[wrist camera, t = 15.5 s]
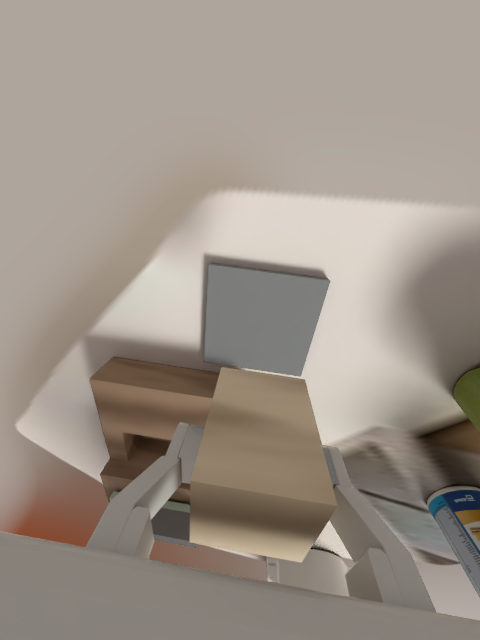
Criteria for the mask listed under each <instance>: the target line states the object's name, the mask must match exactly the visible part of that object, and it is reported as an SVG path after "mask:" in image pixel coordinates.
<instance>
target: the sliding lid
mask: <svg viewBox="0 0 480 640" xmlns="http://www.w3.org/2000/svg"><path fill="white" fill-rule="evenodd" d="M118 493H120V492H115V491H113V493H112V495H111V497H110V501H111V500H112V499H113V498H114V497H115V496H116V495H117V494H118ZM151 523H152V530H153V536H154V540H157V541H163V542H168V543H174V544H179V545H184V546H190V547H196V543H191V542H190V505H188V504H183V503H177V502H172V501H166V503H165V504H164V505H163V506H162V507H161V509H160V510H159V511H158V512H157V513H156V515H155V516H154V517H153V518H152V519H151Z"/></svg>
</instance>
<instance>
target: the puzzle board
mask: <svg viewBox="0 0 480 640" xmlns="http://www.w3.org/2000/svg"><path fill="white" fill-rule="evenodd" d="M219 374H220V373H215V372H208V371H202V370H195V369H189V368H182V367H176V366H169V365H163V364H156V363H150V362H143V361H137V360H130V359H124V358H117V357H113V358H111V359H110V360H109V361H108V362H107V363H106V364H105V365H104V366H103V367H102V368H101V369H100V370H99V371H97V372H96V373H95V374H94V375H93V376H92V377H91V378H90V383H91V387H92V391H93V395H94V398H95V402H96V406H97V410H98V414H99V417H100V421H101V425H102V429H103V433H104V436H105V440H106V444H107V448H108V452H109V455H110V459H109V461H108V463H107V464H106V466H105V467H104V469H103V471H102V472H101V474H100V476H101V479H102V482H103V485H104V488H105V491H106V494H107V497H108V501H109V503H110V497H111V495H112V493H113V491H115V492H121V491H122V490H123V489H124V488H125V487H126V486H128V485H129V484H130V483H131V482H132V481H133V480H134V479H136V478H137V477H138V476H139V475H140V474H141V473H143V472H144V471H145V470H146V469H147V468H148V467H149V466H151V465H152V464H153V463H154V462H155V461H156V460H157V459H159V458H160V457H161V456H165V455H166V453H167V450H168V448H169V445H170V443H171V440H172V438H173V435H174V433H175V431H176V428H177V426H178V424H179V423H180V422H183V423H189V424H194V425H200V426H205V425H206V422H207V418H208V414H209V411H210V407H211V403H212V400H213V396H214V392H215V388H216V385H217V381H218V377H219ZM167 501H172V502H177V503H183V504H188V505H190V484H188V483H181V485H180V486H179V487H178V488H177V490H176V491H175V492H174V493H173V494H172V495H171V497H170V498H169V499H168V500H167Z"/></svg>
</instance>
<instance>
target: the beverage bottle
mask: <svg viewBox="0 0 480 640" xmlns="http://www.w3.org/2000/svg"><path fill="white" fill-rule="evenodd" d="M427 506H428V509H429V511H430V512H431V514H432V516H433V517H434V519H435V520H436V522H437V523H438V525H439V527H440V528H441V530H442V532H443V534H444V535H445V537H446V539H447V541H448V542H449V544H450V546H451V548H452V549H453V551H454V553H455V555H456V556H457V558H458V560H459V562H460V563H461V565H462V567H463V569H464V570H465V572H466V574H467V576H468V577H469V579H470V581H471V582H472V585H473V586H474V588H475V590H476V591H477V593H478V595H479V597H480V488H477V487H472V486H452V487H447V488H444V489H441V490H438V491H436V492H435V493H433V494H432V495H431V496H430V497H429V499H428V501H427Z"/></svg>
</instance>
